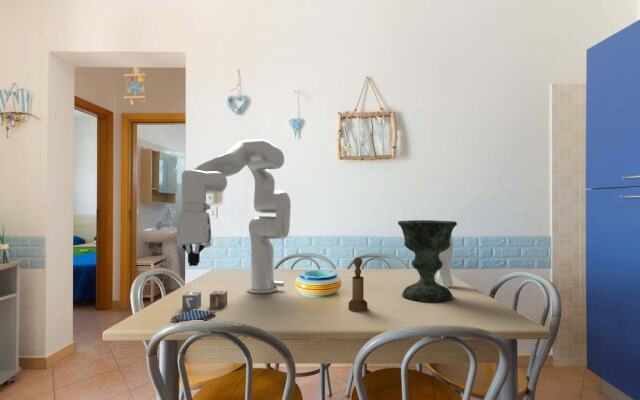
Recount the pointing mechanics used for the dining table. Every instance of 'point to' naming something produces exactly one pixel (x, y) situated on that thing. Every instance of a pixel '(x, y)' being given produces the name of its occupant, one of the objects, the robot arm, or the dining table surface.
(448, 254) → the skyscraper
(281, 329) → the dining table surface
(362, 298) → the brown tall piece
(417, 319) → the dining table surface
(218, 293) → the walnut number block
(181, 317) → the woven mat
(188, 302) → the charcoal number block
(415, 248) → the goblet
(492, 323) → the dining table surface
